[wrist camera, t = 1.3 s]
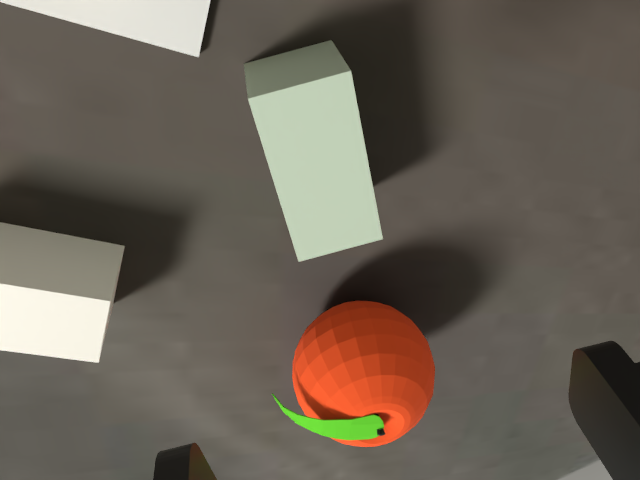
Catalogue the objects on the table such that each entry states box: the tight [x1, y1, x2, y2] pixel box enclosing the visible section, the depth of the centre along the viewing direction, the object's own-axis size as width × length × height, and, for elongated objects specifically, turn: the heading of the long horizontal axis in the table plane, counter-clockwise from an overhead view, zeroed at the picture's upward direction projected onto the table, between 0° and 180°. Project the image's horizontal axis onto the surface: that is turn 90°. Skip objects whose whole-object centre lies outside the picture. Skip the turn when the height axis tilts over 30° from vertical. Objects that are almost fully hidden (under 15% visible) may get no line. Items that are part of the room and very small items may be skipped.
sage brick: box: [244, 40, 383, 262], centre depth 22 cm, size 7×4×4 cm, turn 13°
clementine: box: [272, 301, 435, 447], centre depth 27 cm, size 8×7×7 cm
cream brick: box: [0, 222, 125, 363], centre depth 23 cm, size 7×4×4 cm, turn 70°
